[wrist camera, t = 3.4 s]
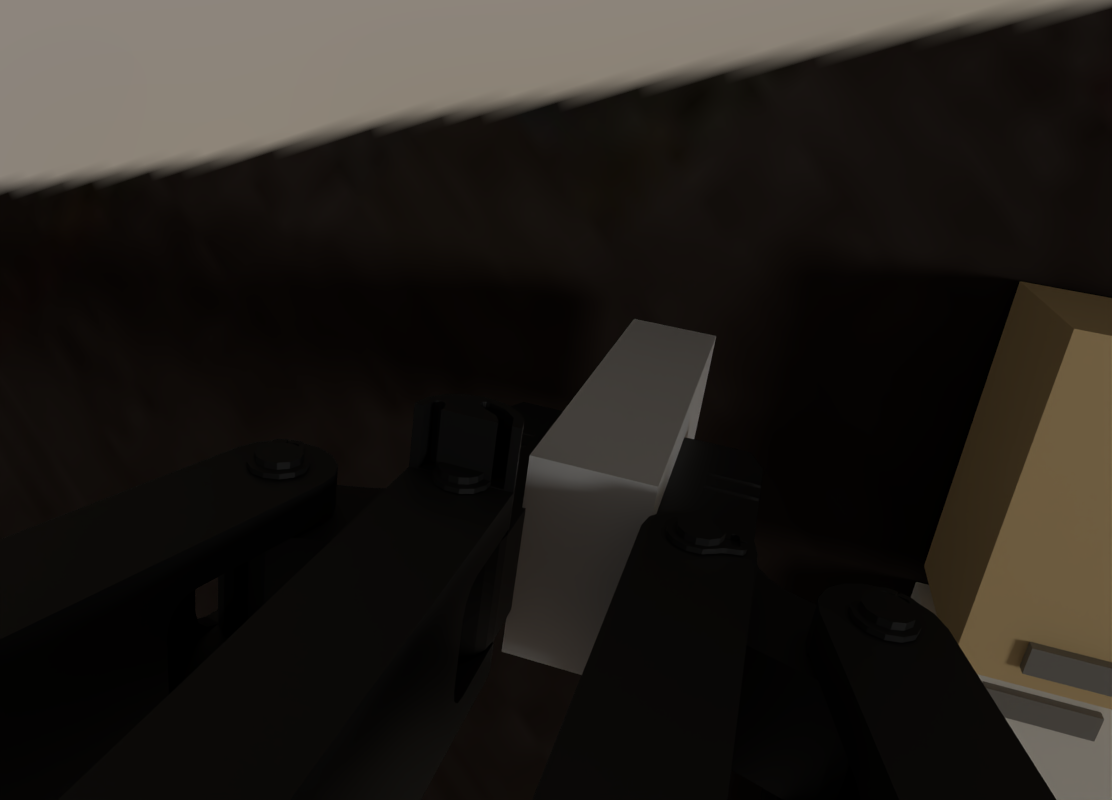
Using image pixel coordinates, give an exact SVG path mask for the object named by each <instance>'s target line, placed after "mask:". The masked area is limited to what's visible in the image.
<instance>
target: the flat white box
mask: <svg viewBox="0 0 1112 800" xmlns="http://www.w3.org/2000/svg"><path fill="white" fill-rule="evenodd" d="M911 598H912V599H914V600H915V601H916V602H917V603H919V604H920V605H922V606H923V607H925V608H927V609H928V610H930V611H931V612H933V613H934V614H935V615H936V616H937V614H936V610H935V606H934V602H933V598H932V595H931V591H930V587H929V585H927V584H923V583H919V582H916V583H915V586H914V589H913V592H912V595H911ZM977 675H978V674H977ZM978 676H979V678H980V680H981V681H982V683H983V684H984V686H985V687H986V689H987V691H988V692H989V694H990V695H991V697H992V698H993V700H994V702H995V703H996V705H997V706H998V708H999V710H1000V711H1001V713H1002V714H1003V716H1004V717H1005V719H1006V721H1007V722H1008V724H1009V725H1010V727H1011V728H1012V730H1013V732H1014V733H1015V735H1016V736H1017V738H1018V740H1019V741H1020V743H1021V744H1022V746H1023V747H1024V749H1025V751H1026V752H1027V754H1028V755H1029V757H1030V759H1031V760H1032V762H1033V763H1034V765H1035V766H1036V768H1037V770H1038V771H1039V773H1040V774H1041V776H1042V777H1043V779H1044V781H1045V782H1046V784H1047V785H1048V787H1049V789H1050V790H1051V792H1052V793H1053V795H1054V796H1055V798H1056V800H1112V710H1111V709H1108V708H1104V707H1100V706H1096V705H1092V704H1089V703H1085V702H1081V701H1077V700H1073V699H1070V698H1066V697H1062V696H1058V695H1054V694H1051V693H1047V692H1043V691H1039V690H1035V689H1032V688H1028V687H1024V686H1020V685H1016V684H1013V683H1009V682H1005V681H1001V680H997V679H994V678H990V677H986V676H982V675H978Z"/></svg>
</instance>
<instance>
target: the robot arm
mask: <svg viewBox="0 0 1112 800" xmlns="http://www.w3.org/2000/svg"><path fill="white" fill-rule="evenodd" d="M715 339H716V336H713V335H708V334H704V333H699V332H694V331H689V330H684V329H680V328H675V327H670V326H665V325H661V324H656V323H651V322H646V321H641V320H637V319H634V320H633V321H632V323H631V324H630V325H629V326H628V328H627V329H626V330H625V332H624V333H623V334H622V336H621V337H620V338H619V339H618V341H617V342H616V343H615V345H614V346H613V347H612V349H611V350H610V351H609V352H608V354H607V355H606V356H605V358H604V359H603V360H602V362H601V363H600V364H599V366H598V367H597V368H596V369H595V371H594V372H593V373H592V375H591V376H590V377H589V379H588V380H587V381H586V382H585V384H584V385H583V386H582V388H581V389H580V390H579V392H578V393H577V394H576V395H575V397H574V398H573V399H572V401H571V402H570V403H569V405H568V406H567V407H566V409H565V410H564V411H559V410H555V409H551V408H547V407H542V406H538V405H534V404H530V403H525V402H522V403H519V404H516V405H513V406H511V407H510V406H508V405H507V404H505V403H502V402H499V401H496V400H492V399H489V398H486V397H479V396H473V395H467V394H444V395H438V396H432V397H427V398H425V399H423V400H420V401H418V402H416V403H415V407H414V418H413V430H412V441H411V452H410V463H409V467H408V468H407V469H406V470H405V471H404V472H403V473H402V474H401V475H400V476H399V477H398V478H397V479H396V480H394V481H393V482H392V483H391V484H390V485H389V486H388V487H387V488H365V487H353V486H341V485H337V470H338V465H337V463H336V461H335V459H334V458H333V456H332V455H331V454H329V453H327V452H326V451H324V450H322V449H321V448H319V447H315V446H311V445H308V444H304V443H303V442H301V441H295V440H291V441H288V439H275V440H273V441H266V442H256V443H252V444H248V445H244V446H240V447H237V448H234V449H232V450H229V451H227V452H224V453H222V454H219V455H216V456H214V457H211V458H209V459H206V460H204V461H201V462H198V463H196V464H193V465H191V466H188V467H186V468H183V469H181V470H178V471H175V472H173V473H170V474H168V475H165V476H163V477H160V478H157V479H155V480H152V481H150V482H147V483H145V484H142V485H139V486H137V487H134V488H132V489H129V490H127V491H124V492H121V493H119V494H116V495H114V496H111V497H109V498H106V499H103V500H101V501H98V502H96V503H93V504H91V505H88V506H85V507H83V508H80V509H78V510H75V511H73V512H70V513H67V514H65V515H62V516H60V517H57V518H55V519H52V520H49V521H47V522H44V523H42V524H39V525H37V526H34V527H31V528H29V529H26V530H24V531H21V532H19V533H16V534H13V535H11V536H8V537H6V538H3V539H1V540H0V800H421V798H422V796H423V795H424V793H425V791H426V789H427V787H428V785H429V783H430V782H431V780H432V778H433V776H434V774H435V772H436V771H437V769H438V767H439V765H440V763H441V761H442V760H443V758H444V756H445V754H446V752H447V750H448V749H449V747H450V745H451V743H452V741H453V739H454V738H455V736H456V734H457V732H458V730H459V728H460V727H461V725H462V723H463V721H464V719H465V717H466V716H467V714H468V712H469V710H470V708H471V706H472V705H473V703H474V701H475V699H476V697H477V695H478V694H479V692H480V690H481V688H482V686H483V684H484V683H485V681H486V679H487V677H488V675H489V670H490V665H491V660H492V652H493V645H494V639H495V637H496V635H497V633H498V632H499V630H500V628H501V627H502V625H503V623H504V621H505V620H506V625H505V632H504V639H503V646H502V652H505V653H509V654H512V655H516V656H519V657H522V658H526V659H529V660H533V661H536V662H539V663H543V664H546V665H550V666H553V667H556V668H560V669H563V670H567V671H570V672H574V673H577V674H580V675H582V676H581V678H580V681H579V683H578V686H577V689H576V691H575V694H574V696H573V699H572V701H571V704H570V706H569V709H568V711H567V714H566V716H565V719H564V721H563V724H562V726H561V729H560V731H559V734H558V736H557V739H556V742H555V744H554V747H553V749H552V752H551V754H550V757H549V759H548V762H547V764H546V767H545V769H544V772H543V774H542V777H541V779H540V782H539V784H538V787H537V789H536V792H535V794H534V797H533V800H728V792H729V784H730V776H731V770H732V771H734V772H736V773H738V774H739V775H741V776H743V777H744V778H746V779H748V780H750V781H751V782H753V783H755V784H757V785H758V786H760V787H762V788H763V790H762V793H761V800H1056V798H1055V796H1054V795H1053V793H1052V792H1051V790H1050V789H1049V787H1048V785H1047V784H1046V782H1045V781H1044V779H1043V777H1042V776H1041V774H1040V773H1039V771H1038V770H1037V768H1036V766H1035V765H1034V763H1033V762H1032V760H1031V759H1030V757H1029V755H1028V754H1027V752H1026V751H1025V749H1024V747H1023V746H1022V744H1021V743H1020V741H1019V740H1018V738H1017V736H1016V735H1015V733H1014V732H1013V730H1012V728H1011V727H1010V725H1009V724H1008V722H1007V721H1006V719H1005V717H1004V716H1003V714H1002V713H1001V711H1000V710H999V708H998V706H997V705H996V703H995V702H994V700H993V698H992V697H991V695H990V694H989V692H988V691H987V689H986V687H985V686H984V684H983V683H982V681H981V680H980V678H979V676H978V675H977V673H976V672H975V670H974V668H973V667H972V665H971V664H970V662H969V661H968V659H967V657H966V656H965V654H964V653H963V651H962V649H961V648H960V646H959V645H958V643H957V642H956V640H955V638H954V637H953V635H952V634H951V632H950V631H949V629H948V628H947V627H946V626H945V625H944V624H943V622H942V621H941V620H940V619H939V618H938V617H937V616H936V615H935V614H934V613H933V612H931V611H930V610H928V609H927V608H925V607H923V606H922V605H920V604H919V603H917V602H916V601H915V600H914V599H912V598H911V597H909V596H906V595H904V594H902V593H900V594H898V593H897V592H898V591H895V590H892V589H889V588H886V587H876V586H871V585H867V584H848V583H843V584H839V585H836V586H832V587H829V588H827V589H826V590H825V591H824V592H823V593H822V594H821V595H820V597H819V598H818V601H817V604H813V603H811V602H809V601H807V600H804V599H802V598H800V597H798V596H796V595H794V594H792V593H790V592H789V591H787V590H785V589H783V588H781V587H780V586H779V585H777V584H776V583H775V582H773V581H772V580H770V579H769V578H768V577H767V576H766V575H765V574H764V573H763V572H762V571H761V570H760V569H759V567H758V565H757V555H758V554H757V551H756V547H755V543H754V537H755V529H756V521H757V514H758V506H759V498H760V490H761V489H760V488H761V482H762V474H763V469H762V467H761V466H760V465H759V463H758V462H757V461H756V459H755V458H754V456H753V455H752V454H751V452H746V451H742V450H738V449H733V448H729V447H725V446H721V445H716V444H712V443H708V442H703V441H699V440H695V439H694V437H695V432H696V428H697V423H698V418H699V414H700V409H701V404H702V400H703V395H704V390H705V386H706V381H707V377H708V372H709V367H710V363H711V358H712V353H713V349H714V344H715ZM217 577H218V610H217V611H215V612H213V613H211V614H210V615H208V616H206V617H203V618H199V619H197V617H196V614H195V589H196V588H198V587H200V586H202V585H204V584H205V583H207V582H209V581H211V580H213V579H215V578H217Z"/></svg>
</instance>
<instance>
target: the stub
mask: <svg viewBox="0 0 1112 800" xmlns="http://www.w3.org/2000/svg"><path fill="white" fill-rule="evenodd" d="M924 568H925V571H926V575H927V579H928V583H929V587H930V591H931V595H932V598H933V602H934V606H935V610H936V614H937V617H938V618H939V619H940V620H941V621H942V622H943V624H944V625H945V626H946V627H947V628H948V629H949V631H950V632H951V634H952V635H953V637H954V638H955V640H956V642H957V643H958V645H959V646H960V648H961V649H962V651H963V653H964V654H965V656H966V657H967V659H968V661H969V662H970V664H971V665H972V667H973V668H974V670H975V672H976V673H977V674H978V675H982V676H986V677H990V678H994V679H997V680H1001V681H1005V682H1009V683H1013V684H1016V685H1020V686H1024V687H1028V688H1032V689H1035V690H1039V691H1043V692H1047V693H1051V694H1054V695H1058V696H1062V697H1066V698H1070V699H1073V700H1077V701H1081V702H1085V703H1089V704H1092V705H1096V706H1100V707H1104V708H1108V709H1111V710H1112V298H1108V297H1103V296H1097V295H1092V294H1086V293H1081V292H1076V291H1070V290H1065V289H1059V288H1054V287H1048V286H1043V285H1037V284H1032V283H1026V282H1021V281H1020V282H1019V285H1018V288H1017V291H1016V294H1015V297H1014V300H1013V303H1012V306H1011V309H1010V312H1009V315H1008V318H1007V321H1006V324H1005V327H1004V330H1003V333H1002V336H1001V339H1000V342H999V345H998V348H997V351H996V354H995V357H994V360H993V362H992V365H991V368H990V371H989V374H988V377H987V380H986V383H985V386H984V389H983V392H982V395H981V398H980V401H979V404H978V407H977V410H976V413H975V416H974V419H973V422H972V425H971V428H970V431H969V434H968V437H967V440H966V443H965V446H964V449H963V452H962V455H961V458H960V461H959V464H958V467H957V469H956V472H955V475H954V478H953V481H952V484H951V487H950V490H949V493H948V496H947V499H946V502H945V505H944V508H943V511H942V514H941V517H940V520H939V523H938V526H937V529H936V532H935V535H934V538H933V541H932V544H931V547H930V550H929V553H928V556H927V559H926V562H925V565H924Z"/></svg>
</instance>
